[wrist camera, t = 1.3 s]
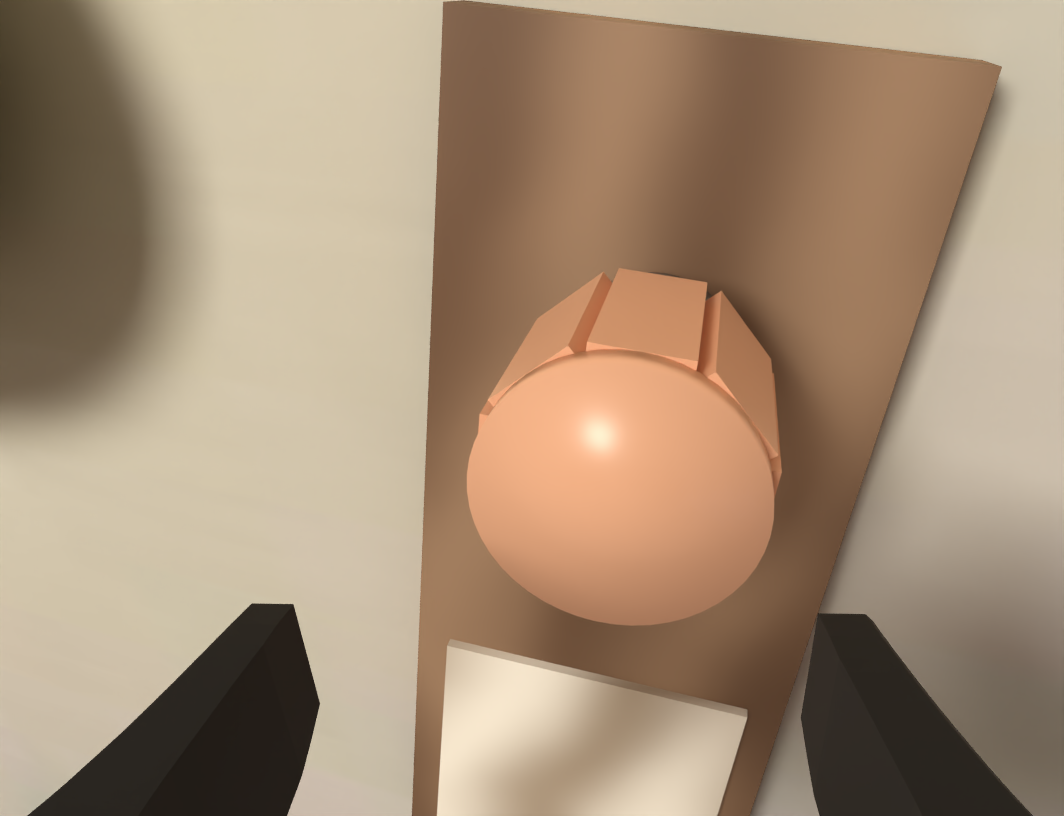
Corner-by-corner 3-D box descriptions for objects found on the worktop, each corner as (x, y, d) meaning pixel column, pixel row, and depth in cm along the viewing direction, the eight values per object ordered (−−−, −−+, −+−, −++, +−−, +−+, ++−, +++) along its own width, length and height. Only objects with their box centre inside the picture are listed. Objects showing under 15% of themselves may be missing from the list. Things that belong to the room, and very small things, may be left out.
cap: (793, 296, 16) (810, 397, 12) (738, 511, 19) (737, 653, 15) (537, 254, 17) (476, 337, 13) (516, 466, 20) (458, 589, 16)
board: (981, 60, 17) (1131, 108, 10) (712, 888, 30) (704, 1137, 24) (464, 0, 19) (314, 10, 12) (424, 810, 32) (342, 1023, 25)
